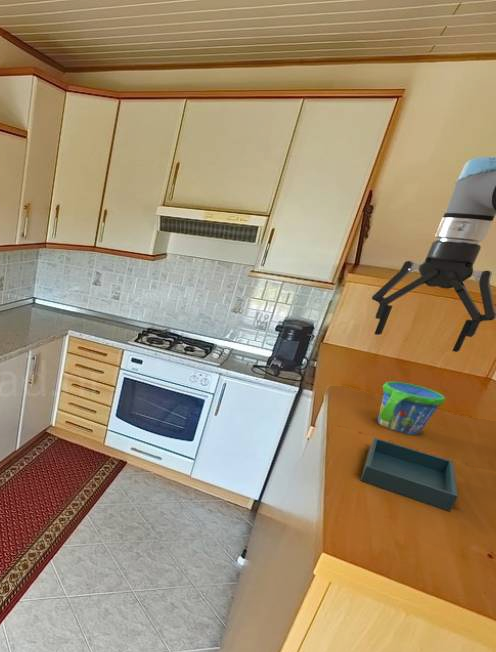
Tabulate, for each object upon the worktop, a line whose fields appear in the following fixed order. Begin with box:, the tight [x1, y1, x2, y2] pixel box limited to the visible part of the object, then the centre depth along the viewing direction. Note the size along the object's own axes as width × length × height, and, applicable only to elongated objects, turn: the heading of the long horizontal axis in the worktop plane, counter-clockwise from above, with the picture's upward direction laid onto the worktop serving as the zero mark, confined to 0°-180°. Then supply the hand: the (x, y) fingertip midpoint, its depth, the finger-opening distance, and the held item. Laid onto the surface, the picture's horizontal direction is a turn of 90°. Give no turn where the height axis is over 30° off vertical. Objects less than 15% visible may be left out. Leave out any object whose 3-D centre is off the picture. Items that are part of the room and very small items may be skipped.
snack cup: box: [377, 381, 446, 435], centre depth 110 cm, size 16×10×10 cm
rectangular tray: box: [359, 437, 459, 513], centre depth 89 cm, size 12×18×3 cm
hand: (415, 342), depth 106 cm, fingers open, 13 cm apart
